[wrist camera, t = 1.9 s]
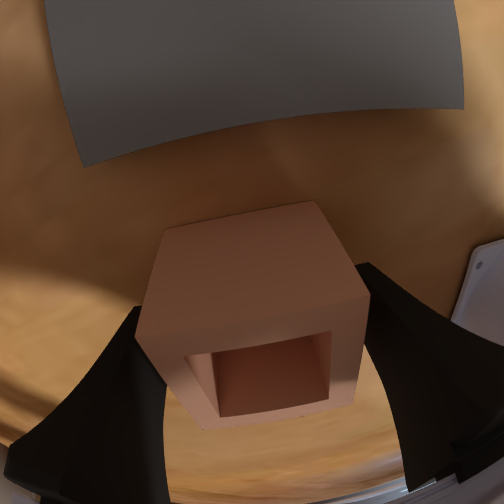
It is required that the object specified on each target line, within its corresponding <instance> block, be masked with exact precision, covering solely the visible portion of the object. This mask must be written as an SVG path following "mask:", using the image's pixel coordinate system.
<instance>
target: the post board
mask: <svg viewBox="0 0 504 504" xmlns="http://www.w3.org/2000/svg"><path fill="white" fill-rule="evenodd" d="M44 4H45V12H46V19H47V26H48V32H49V38H50V44H51V49H52V54H53V59H54V64H55V69H56V73H57V78H58V82H59V86H60V90H61V94H62V98H63V102H64V105H65V109H66V113H67V116H68V120H69V123H70V127H71V130H72V133H73V136H74V140H75V143H76V146H77V149H78V152H79V155H80V158H81V161H82V164H83V167H84V168H86V167H88V166H91V165H94V164H97V163H100V162H103V161H106V160H109V159H112V158H115V157H118V156H121V155H124V154H127V153H131V152H134V151H137V150H141V149H144V148H147V147H151V146H155V145H158V144H162V143H166V142H169V141H173V140H177V139H181V138H185V137H189V136H193V135H197V134H202V133H206V132H211V131H215V130H220V129H225V128H230V127H235V126H240V125H246V124H251V123H257V122H263V121H269V120H275V119H282V118H289V117H296V116H304V115H313V114H322V113H331V112H343V111H356V110H372V109H398V108H438V109H463V110H464V83H463V66H462V54H461V45H460V37H459V29H458V23H457V17H456V11H455V5H454V0H44Z"/></svg>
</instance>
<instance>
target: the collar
mask: <svg viewBox="0 0 504 504" xmlns="http://www.w3.org/2000/svg"><path fill="white" fill-rule="evenodd" d="M369 303H370V293H369V291H368V289H367V287H366V285H365V284H364V282H363V280H362V278H361V277H360V275H359V273H358V271H357V270H356V268H355V266H354V264H353V263H352V261H351V259H350V257H349V256H348V254H347V252H346V251H345V249H344V247H343V246H342V244H341V242H340V241H339V239H338V237H337V236H336V234H335V232H334V231H333V229H332V227H331V226H330V224H329V223H328V221H327V219H326V218H325V216H324V215H323V213H322V211H321V210H320V208H319V207H318V205H317V204H316V202H315V200H313V201H307V202H301V203H295V204H290V205H284V206H279V207H273V208H268V209H263V210H257V211H252V212H247V213H242V214H237V215H232V216H227V217H222V218H217V219H212V220H207V221H202V222H198V223H193V224H188V225H184V226H179V227H174V228H170V229H165V230H164V233H163V236H162V239H161V242H160V245H159V249H158V252H157V255H156V258H155V262H154V265H153V269H152V272H151V276H150V279H149V283H148V286H147V290H146V294H145V297H144V301H143V305H142V309H141V313H140V317H139V321H138V325H137V329H136V333H135V338H136V340H137V342H138V343H139V345H140V346H141V348H142V349H143V351H144V352H145V354H146V355H147V357H148V358H149V360H150V361H151V363H152V364H153V366H154V367H155V368H156V370H157V371H158V373H159V374H160V376H161V377H162V378H163V380H164V381H165V383H166V384H167V385H168V387H169V388H170V389H171V391H172V392H173V393H174V395H175V396H176V397H177V399H178V400H179V401H180V403H181V404H182V405H183V407H184V408H185V409H186V410H187V412H188V413H189V414H190V415H191V417H192V418H193V419H194V420H195V422H196V423H197V424H198V425H199V427H200V428H201V429H202V430H205V429H217V428H227V427H236V426H245V425H252V424H259V423H266V422H272V421H278V420H284V419H289V418H294V417H300V416H304V415H309V414H314V413H318V412H323V411H327V410H331V409H335V408H339V407H343V406H347V405H350V404H352V403H353V399H354V394H355V389H356V385H357V380H358V374H359V369H360V364H361V358H362V352H363V346H364V340H365V333H366V326H367V319H368V311H369Z"/></svg>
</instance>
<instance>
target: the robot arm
mask: <svg viewBox="0 0 504 504" xmlns="http://www.w3.org/2000/svg"><path fill="white" fill-rule="evenodd" d="M354 266H355V268H356V270H357V271H358V273H359V275H360V277H361V278H362V280H363V282H364V284H365V285H366V287H367V289H368V291H369V293H370V303H369V311H368V319H367V326H366V333H365V340H364V344H365V346H366V349H367V351H368V353H369V355H370V357H371V359H372V361H373V363H374V366H375V368H376V370H377V372H378V374H379V376H380V379H381V381H382V383H383V386H384V389H385V391H386V395H387V398H388V401H389V404H390V408H391V411H392V415H393V419H394V422H395V426H396V430H397V435H398V439H399V444H400V449H401V453H402V459H403V466H404V472H405V480H406V485H407V488H408V492H412V491H414V490H417V489H419V488H422V487H424V486H426V485H428V484H430V483H433V482H435V481H436V483H434V484H431V485H429V486H427V487H425V488H423V489H420V490H418V491H416V492H413V493H411V494H408V495H406V496H404V497H401V498H398V499H396V500H393V501H390V502H387V503H384V504H504V239H501V240H498V241H495V242H491V243H488V244H484V245H481V246H478V247H477V248H476V249H474V251H473V253H472V255H471V259H470V262H469V266H468V269H467V273H466V276H465V279H464V283H463V286H462V289H461V292H460V295H459V298H458V301H457V304H456V306H455V309H454V312H453V315H452V317H451V320H448V319H447V318H445V317H443V316H442V315H440V314H438V313H437V312H435V311H434V310H432V309H431V308H429V307H428V306H426V305H425V304H423V303H422V302H421V301H419V300H418V299H416V298H415V297H414V296H412V295H411V294H409V293H408V292H407V291H405V290H404V289H403V288H401V287H400V286H399V285H398V284H396V283H395V282H394V281H392V280H391V279H390V278H388V277H387V276H386V275H385V274H383V273H382V272H381V271H380V270H378V269H377V268H376V267H374V266H373V265H372V264H370V263H369V262H367V263H362V264H358V265H354ZM141 309H142V305H141V306H135V307H133V309H132V310H131V311H130V313H129V314H128V316H127V317H126V319H125V320H124V321H123V323H122V324H121V326H120V327H119V329H118V330H117V332H116V333H115V335H114V336H113V338H112V339H111V341H110V342H109V343H108V345H107V346H106V348H105V349H104V351H103V352H102V354H101V355H100V356H99V358H98V359H97V360H96V362H95V363H94V364H93V366H92V367H91V369H90V370H89V371H88V373H87V374H86V375H85V376H84V378H83V379H82V380H81V381H80V383H79V384H78V385H77V386H76V387H75V388H74V390H73V391H72V392H71V393H70V394H69V395H68V396H67V397H66V398H65V399H64V400H63V401H62V402H61V403H60V404H59V405H58V406H57V407H56V409H55V410H54V411H53V412H52V413H50V414H49V415H48V416H47V417H46V418H45V419H44V420H43V421H42V422H40V423H39V424H38V425H37V426H36V427H34V428H33V429H32V430H31V431H29V432H28V433H27V434H25V435H24V436H22V437H21V438H20V439H18V440H17V441H15V442H14V443H12V444H11V445H10V446H9V450H8V454H7V459H6V464H5V469H4V476H5V477H6V478H7V479H8V480H10V481H12V482H14V483H15V484H17V485H19V486H21V487H23V488H25V489H27V490H29V491H31V492H33V493H35V494H37V495H40V496H41V498H40V501H37V500H35V499H32V498H30V497H27V496H25V495H22V494H20V493H17V492H13V497H12V503H11V504H171V502H170V497H169V491H168V485H167V477H166V470H165V458H164V443H163V417H164V407H165V398H166V389H167V384H166V383H165V381H164V380H163V378H162V377H161V376H160V374H159V373H158V371H157V370H156V368H155V367H154V366H153V364H152V363H151V361H150V360H149V358H148V357H147V355H146V354H145V352H144V351H143V349H142V348H141V346H140V345H139V343H138V342H137V340H136V338H135V333H136V329H137V325H138V321H139V317H140V313H141Z"/></svg>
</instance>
